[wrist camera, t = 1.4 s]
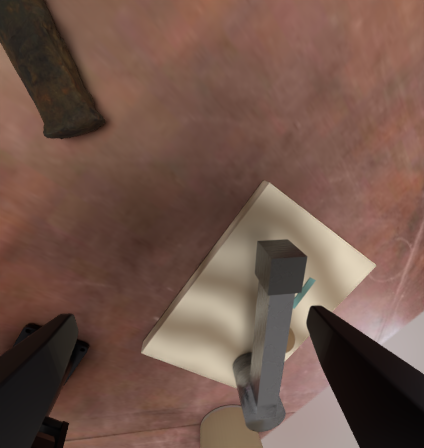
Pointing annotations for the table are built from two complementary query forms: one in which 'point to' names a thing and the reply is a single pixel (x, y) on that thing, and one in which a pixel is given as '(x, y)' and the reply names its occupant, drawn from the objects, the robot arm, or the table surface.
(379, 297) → the table surface
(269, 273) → the lever
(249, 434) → the lidded canister
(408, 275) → the table surface
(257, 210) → the board
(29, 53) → the wooden log
